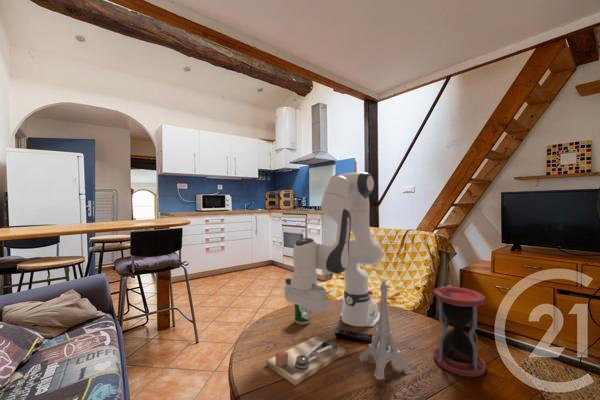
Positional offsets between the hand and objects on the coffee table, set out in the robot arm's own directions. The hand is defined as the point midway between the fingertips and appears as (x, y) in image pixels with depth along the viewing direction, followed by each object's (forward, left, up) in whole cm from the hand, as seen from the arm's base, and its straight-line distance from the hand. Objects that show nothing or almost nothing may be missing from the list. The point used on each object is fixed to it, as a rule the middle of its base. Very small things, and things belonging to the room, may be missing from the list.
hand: (305, 317), depth 106 cm
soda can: (-18, -20, -14) cm, 31 cm away
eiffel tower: (-14, +25, -14) cm, 32 cm away
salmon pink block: (+13, +1, -11) cm, 17 cm away
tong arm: (+1, +5, -12) cm, 13 cm away
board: (+3, +3, -14) cm, 14 cm away
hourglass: (-34, +43, -14) cm, 57 cm away
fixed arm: (+1, +7, -12) cm, 14 cm away
